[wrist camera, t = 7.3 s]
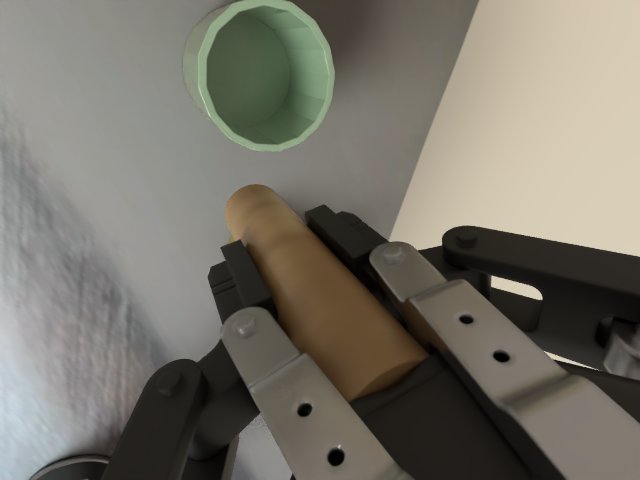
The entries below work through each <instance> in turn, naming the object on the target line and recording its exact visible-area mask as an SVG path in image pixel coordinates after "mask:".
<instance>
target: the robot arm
mask: <svg viewBox="0 0 640 480" xmlns="http://www.w3.org/2000/svg"><path fill="white" fill-rule="evenodd" d="M305 219H306V222H307V226H308V227H309V228H310V229H311V230H312V231H313V232H314V233H315V234H316V235H317V237H318V238H319V239H320V240H321V241H322V242H323V243H324V244H325V245H326V246H327V247H328V248H329V249H330V250H331V251H332V252H333V253H334V254H335V255H336V257H337V258H338V259H339V260H340V261H341V262H342V263H343V264H344V265H345V266H346V267H347V268H348V269H349V270H350V271H351V272H352V273H353V274H354V276H355V277H356V278H357V279H358V280H359V281H360V282H361V283H362V284H363V285H364V286H365V287H366V288H367V289H368V290H369V291H370V292H371V293H372V295H373V296H374V297H375V298H376V299H377V300H378V301H379V302H380V303H381V304H382V305H383V306H384V307H385V308H386V309H387V310H388V311H389V312H390V314H391V315H392V316H393V317H394V318H395V319H396V320H397V321H398V322H399V323H400V324H401V325H402V326H403V327H404V328H405V329H406V330H407V331H408V332H409V334H410V335H411V336H412V337H413V338H414V339H415V340H416V341H417V342H418V343H419V344H420V345H421V346H422V348H423V349H424V350H425V351H426V352H427V353H428V354H429V355H430V356H429V357H427V358H426V359H424V360H423V361H422V362H421V363H420V364H419V365H418V366H417V367H416V368H415V369H414V370H413V371H412V372H411V373H410V374H409V375H408V376H407V377H406V378H405V379H404V380H403V381H402V382H401V383H400V385H398V386H397V387H396V388H394V389H391V390H387V391H384V392H380V393H377V394H373V395H370V396H367V397H363V398H360V399H356V400H353V401H351V402H349V403H347V401H346V400H345V399H344V398H343V396H342V395H341V394H340V393H339V391H338V390H337V389H336V388H335V386H334V385H333V384H332V383H331V381H330V380H329V379H328V378H327V376H326V375H325V374H324V373H323V371H322V370H321V369H320V368H319V366H318V365H317V364H316V363H315V361H314V360H313V359H312V358H311V357H310V355H309V354H308V353H306V352H303V353H300V352H299V350H298V349H297V348H296V347H295V345H294V344H293V343H292V341H291V340H290V339H289V338H288V336H287V335H286V334H285V332H284V331H283V330H282V329H281V327H280V326H279V323H278V312H277V309H276V306H275V304H274V301H273V299H272V296H271V294H270V292H269V291H268V289H267V287H266V285H265V283H264V281H263V280H262V278H261V276H260V274H259V272H258V270H257V269H256V267H255V265H254V263H253V261H252V259H251V258H250V256H249V254H248V252H247V250H246V248H245V247H244V245H243V243H242V241H241V239H239V240H237V241H234V242H232V243H229V244H227V245H225V246H222V247H220V248H221V250H222V253H223V255H224V257H225V260H226V261H224V262H221V263H219V264H217V265H214V266H212V267H211V269H210V272H209V275H208V280H209V284H210V287H211V290H212V293H213V296H214V299H215V302H216V306H217V309H218V312H219V315H220V318H221V321H222V324H223V326H222V328H221V332H220V337H221V339H220V341H219V342H218V344H217V345H216V347H215V348H214V349H213V350H212V351H211V352H210V353H208V354H207V355H206V356H205V357H204V358H202V359H201V360H200V361H198V362H197V363H196V362H195V361H193V360H190V359H179V360H175V361H172V362H170V363H168V364H166V365H165V366H163V367H161V368H160V369H159V370H158V371H156V372H155V373H154V374H153V375H152V376H151V378H150V379H149V380H148V382H147V383H146V385H145V387H144V389H143V391H142V393H141V395H140V397H139V400H138V402H137V404H136V406H135V408H134V410H133V412H132V414H131V416H130V418H129V421H128V423H127V425H126V427H125V429H124V431H123V433H122V435H121V437H120V439H119V442H118V444H117V446H116V448H115V450H114V452H113V454H112V456H111V458H107V457H103V456H95V455H87V456H78V457H73V458H69V459H65V460H62V461H59V462H57V463H54V464H52V465H50V466H48V467H46V468H44V469H42V470H41V471H39V472H38V473H37V474H35V475H34V476H33V477H32V478H31V479H30V480H231V476H232V471H233V466H234V461H235V457H236V452H237V447H238V442H239V433H240V432H241V431H242V430H243V429H244V428H245V427H246V426H247V425H248V424H249V423H250V422H251V421H252V420H253V419H254V418H255V417H256V416H258V415H259V414H260V413H261V415H262V416H263V418H264V420H265V422H266V424H267V426H268V428H269V430H270V431H271V433H272V435H273V437H274V439H275V441H276V443H277V445H278V446H279V448H280V450H281V452H282V454H283V456H284V458H285V459H286V461H287V463H288V465H289V467H290V469H291V471H292V476H291V479H290V480H640V257H638V256H632V255H627V254H622V253H616V252H611V251H605V250H600V249H595V248H589V247H584V246H579V245H573V244H568V243H562V242H557V241H551V240H546V239H541V238H535V237H530V236H524V235H519V234H514V233H509V232H503V231H498V230H492V229H487V228H482V227H476V226H459V227H455V228H452V229H450V230H448V231H447V232H446V233H445V234H444V235H443V237H442V246H438V247H433V248H428V249H424V250H416V249H415V248H414V247H413V246H411V245H410V244H408V243H404V242H389V241H387V240H386V239H385V238H384V237H382V236H381V235H380V234H378V233H377V232H376V231H375V230H373V229H372V228H371V227H369V226H368V225H367V224H366V223H364V222H362V220H360V219H359V218H358V217H357V216H355V215H354V214H350V213H347V212H343V211H341V212H339V213H337V214H335V213H334V212H333V211H332V210H330V209H329V208H328V207H327V206H326V205H321V206H319V207H316V208H314V209H311V210H309V211H307V212H305ZM492 275H493V276H496V277H500V278H504V279H508V280H512V281H516V282H519V283H523V284H527V285H530V286H533V287H535V288H536V289H538V290H539V291H540V293H541V294H542V297H543V300H536V299H533V298H529V297H525V296H522V295H518V294H514V293H511V292H507V291H504V290H500V289H496V288H493V287H491V276H492ZM544 351H546V352H549V353H552V354H555V355H558V356H561V357H563V358H566V359H569V360H572V361H575V362H578V363H580V364H584V365H586V366H589V367H592V368H595V369H598V370H594V369H591V368H586V367H582V366H578V365H574V364H570V363H566V362H562V361H557V360H553V359H551V358H550V357H549V356H548V355H547V354H546V353H545V352H544ZM599 370H600V371H599Z"/></svg>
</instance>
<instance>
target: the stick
mask: <svg viewBox="0 0 640 480" xmlns="http://www.w3.org/2000/svg"><path fill="white" fill-rule="evenodd" d="M225 220H226V223H227V225H228V227H229V229H230V231H231V233H232V235H233V237H234V239H235V241H237V240H239V239H241V241H242V243H243V245H244V247H245V248H246V250H247V252H248V254H249V256H250V258H251V259H252V261H253V263H254V265H255V267H256V269H257V270H258V272H259V274H260V276H261V278H262V280H263V281H264V283H265V285H266V287H267V289H268V291H269V292H270V294H271V296H272V299H273V301H274V304H275V306H276V309H277V312H278V323H279V326H280V327H281V329H282V330H283V331H284V332H285V334H286V335H287V336H288V338H289V339H290V340H291V341H292V343H293V344H294V345H295V347H296V348H297V349H298V350H299V352H300V353H303V352H306V353H308V354H309V355H310V357H311V358H312V359H313V360H314V361H315V363H316V364H317V365H318V366H319V368H320V369H321V370H322V371H323V373H324V374H325V375H326V376H327V378H328V379H329V380H330V381H331V383H332V384H333V385H334V386H335V388H336V389H337V390H338V391H339V393H340V394H341V395H342V396H343V398H344V399H345V400H346V401H347V403H349V402H351V401H353V400H356V399H360V398H363V397H367V396H370V395H373V394H377V393H380V392H384V391H387V390H391V389H394V388H396V387H397V386H398V385H400V383H401V382H402V381H403V380H404V379H405V378H406V377H407V376H408V375H409V374H410V373H411V372H412V371H413V370H414V369H415V368H416V367H417V366H418V365H419V364H420V363H421V362H422V361H423V360H424V359H426V358H427V357H429V356H430V355H429V354H428V353H427V352H426V351H425V350H424V349H423V348H422V346H421V345H420V344H419V343H418V342H417V341H416V340H415V339H414V338H413V337H412V336H411V335H410V334H409V332H408V331H407V330H406V329H405V328H404V327H403V326H402V325H401V324H400V323H399V322H398V321H397V320H396V319H395V318H394V317H393V316H392V315H391V314H390V312H389V311H388V310H387V309H386V308H385V307H384V306H383V305H382V304H381V303H380V302H379V301H378V300H377V299H376V298H375V297H374V296H373V295H372V293H371V292H370V291H369V290H368V289H367V288H366V287H365V286H364V285H363V284H362V283H361V282H360V281H359V280H358V279H357V278H356V277H355V276H354V274H353V273H352V272H351V271H350V270H349V269H348V268H347V267H346V266H345V265H344V264H343V263H342V262H341V261H340V260H339V259H338V258H337V257H336V255H335V254H334V253H333V252H332V251H331V250H330V249H329V248H328V247H327V246H326V245H325V244H324V243H323V242H322V241H321V240H320V239H319V238H318V237H317V235H316V234H315V233H314V232H313V231H312V230H311V229H310V228H309V227H308V226H307V225H306V224H305V223H304V222H303V221H302V220H301V219H300V218H299V216H298V215H297V214H296V213H295V212H294V211H293V210H292V209H291V208H290V207H289V206H288V205H287V204H286V203H285V202H284V201H283V200H282V199H281V197H280V196H279V195H278V194H277V193H276V192H275V191H274V190H272V189H271V188H269V187H267V186H264V185H258V184H255V185H248V186H245V187H243V188H241V189H239V190H238V191H236V192H235V193H234V194H233V195H232V196H231V198H230V199H229V201H228V203H227V205H226V208H225Z"/></svg>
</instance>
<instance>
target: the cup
mask: <svg viewBox="0 0 640 480" xmlns="http://www.w3.org/2000/svg"><path fill="white" fill-rule="evenodd" d="M182 70H183V78H184V82H185V85H186V88H187V91H188V93H189V95H190V97H191V99H192V102H193V103H194V105H195V106H196V107H197V108H198V109H199V110H200V111H201V112H202V113H203V114H204V115H205V116H206V118H207V119H208V120H209V121H210V122H211V123H212V124H214V125H215V126H216V127H217V128H218V129H219V130H220V131H221V132H222V133H223V134H225V135H226V136H227V137H228V138H229V139H230V140H232V141H234V142H236V143H239V144H241V145H243V146H245V147H247V148H249V149H251V150H254V151H273V152H278V151H282V150H284V149H287V148H290V147H292V146H295V145H298V144H300V143H302V142H303V141H304V140H305V139H306V138H307V137H308V136H309V135H311V134H312V133H313V132H314V131H315V130H316V129H317V128H318V127H319V126H320V124H321V122H322V120H323V118H324V116H325V115H326V113H327V111H328V109H329V107H330V105H331V102H332V96H333V88H334V81H335V70H334V65H333V60H332V54H331V49H330V45H329V44H328V42H327V40H326V38H325V37H324V35H323V33H322V32H321V30H320V28H319V26H318V25H317V23H316V21H315V20H314V19H313V18H312V17H310V16H309V15H308V14H306V13H305V12H304V11H303V10H301V9H300V8H299V7H298V6H296V5H295V4H294V3H292V2H290V1H286V0H242V1H238V2H235V3H232V4H230V5H227V6H225V7H222V8H220V9H217V10H215V11H212V12H210V13H209V14H208V15H207V16H206V17H205V18H203V19H202V20H201V21H200V22H199V23H198V24H197V25H196V26H195V27H194V28H193V29H192V31H191V33H190V35H189V37H188V39H187V41H186V44H185V47H184V51H183V58H182Z"/></svg>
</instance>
